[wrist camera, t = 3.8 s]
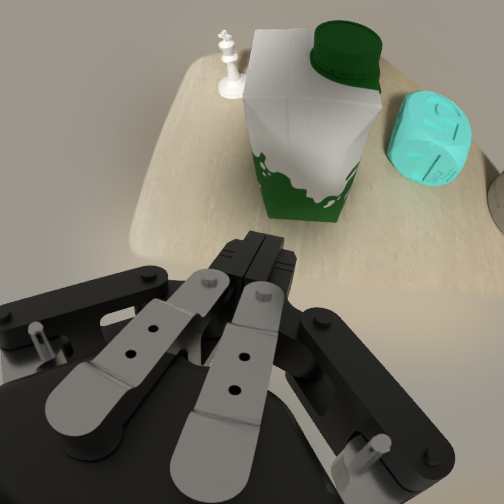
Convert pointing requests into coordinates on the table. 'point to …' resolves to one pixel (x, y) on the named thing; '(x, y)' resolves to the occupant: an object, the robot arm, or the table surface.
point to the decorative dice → (429, 139)
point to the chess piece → (230, 70)
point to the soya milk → (311, 114)
